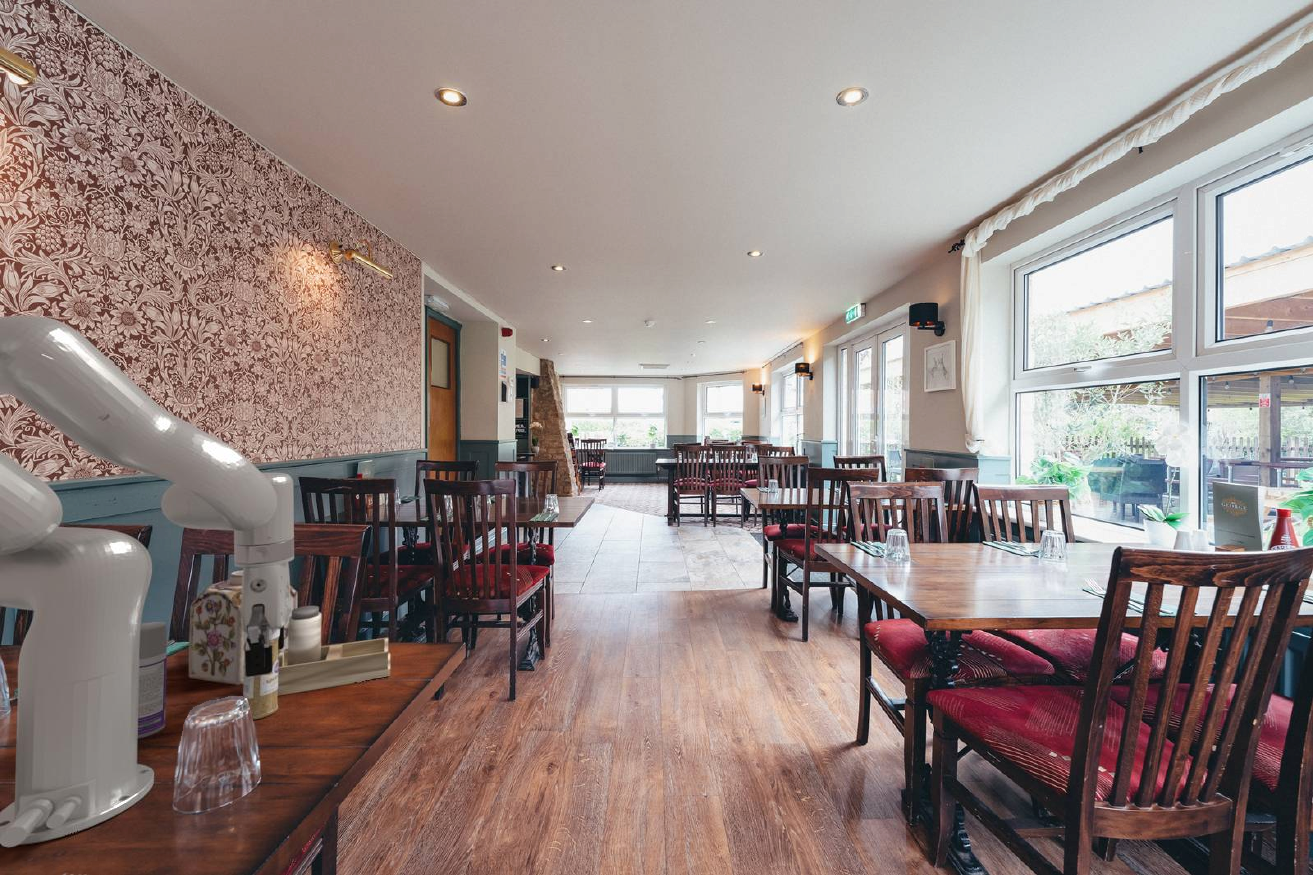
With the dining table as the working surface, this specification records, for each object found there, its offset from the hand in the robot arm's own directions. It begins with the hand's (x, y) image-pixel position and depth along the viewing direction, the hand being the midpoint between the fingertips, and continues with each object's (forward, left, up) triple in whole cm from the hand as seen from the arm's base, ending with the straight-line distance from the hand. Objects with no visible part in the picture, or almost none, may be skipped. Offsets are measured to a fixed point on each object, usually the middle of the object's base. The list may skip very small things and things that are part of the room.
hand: (266, 661), depth 84 cm
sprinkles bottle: (-1, +1, -8) cm, 8 cm away
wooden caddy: (+9, -8, -8) cm, 15 cm away
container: (0, +15, -8) cm, 17 cm away
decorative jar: (+20, +7, -8) cm, 23 cm away
